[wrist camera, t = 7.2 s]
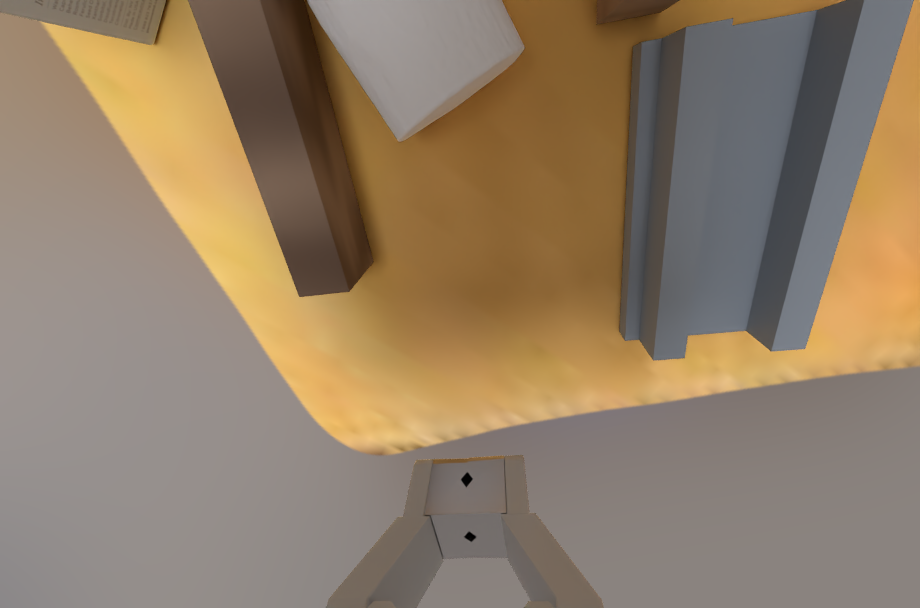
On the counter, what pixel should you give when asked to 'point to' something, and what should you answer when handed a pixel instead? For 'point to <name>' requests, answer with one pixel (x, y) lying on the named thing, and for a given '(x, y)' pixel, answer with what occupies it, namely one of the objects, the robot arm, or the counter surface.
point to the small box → (95, 16)
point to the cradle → (747, 169)
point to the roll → (420, 52)
